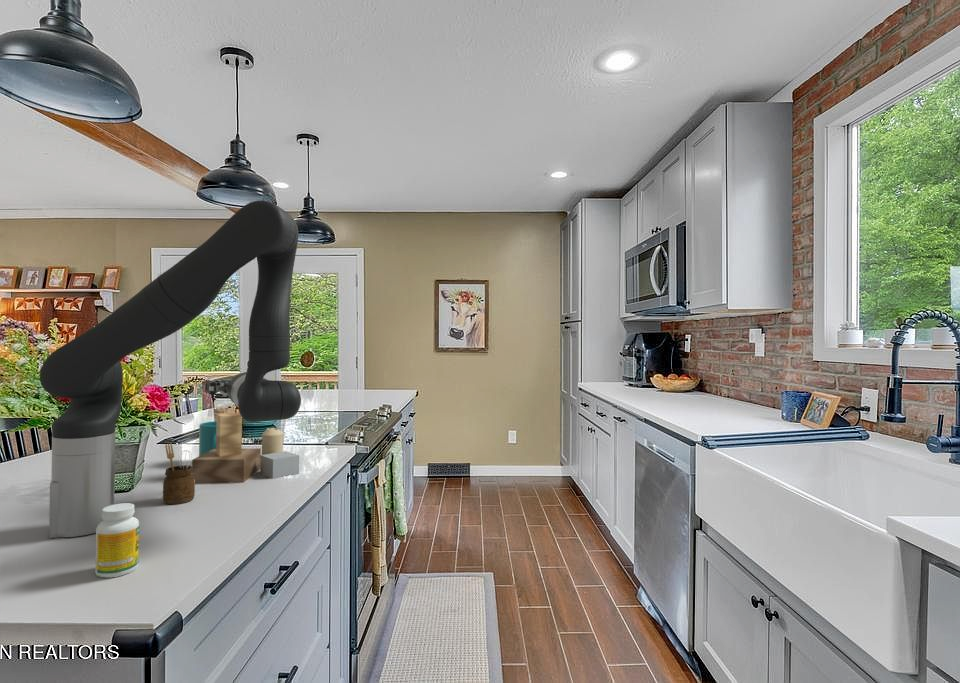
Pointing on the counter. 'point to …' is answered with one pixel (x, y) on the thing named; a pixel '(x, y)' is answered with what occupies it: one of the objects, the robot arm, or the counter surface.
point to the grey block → (279, 464)
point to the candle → (272, 441)
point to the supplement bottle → (117, 541)
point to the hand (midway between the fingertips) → (235, 384)
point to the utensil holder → (178, 481)
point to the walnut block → (226, 466)
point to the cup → (207, 437)
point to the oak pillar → (229, 434)
